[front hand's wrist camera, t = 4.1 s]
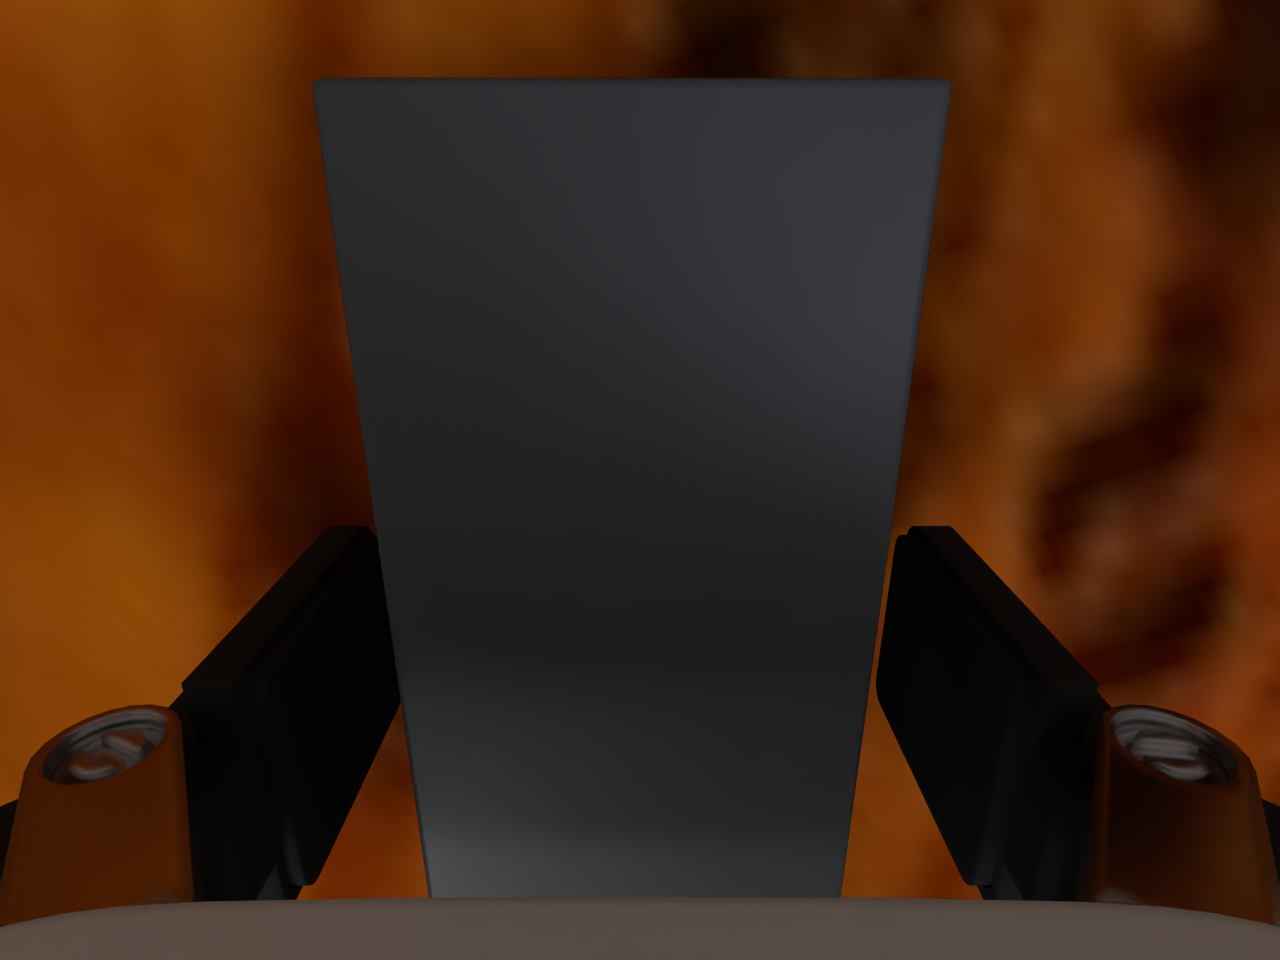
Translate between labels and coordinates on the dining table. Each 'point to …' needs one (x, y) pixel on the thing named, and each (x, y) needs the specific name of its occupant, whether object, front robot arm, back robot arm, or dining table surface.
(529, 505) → the post
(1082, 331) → the dining table surface
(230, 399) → the dining table surface
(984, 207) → the dining table surface
